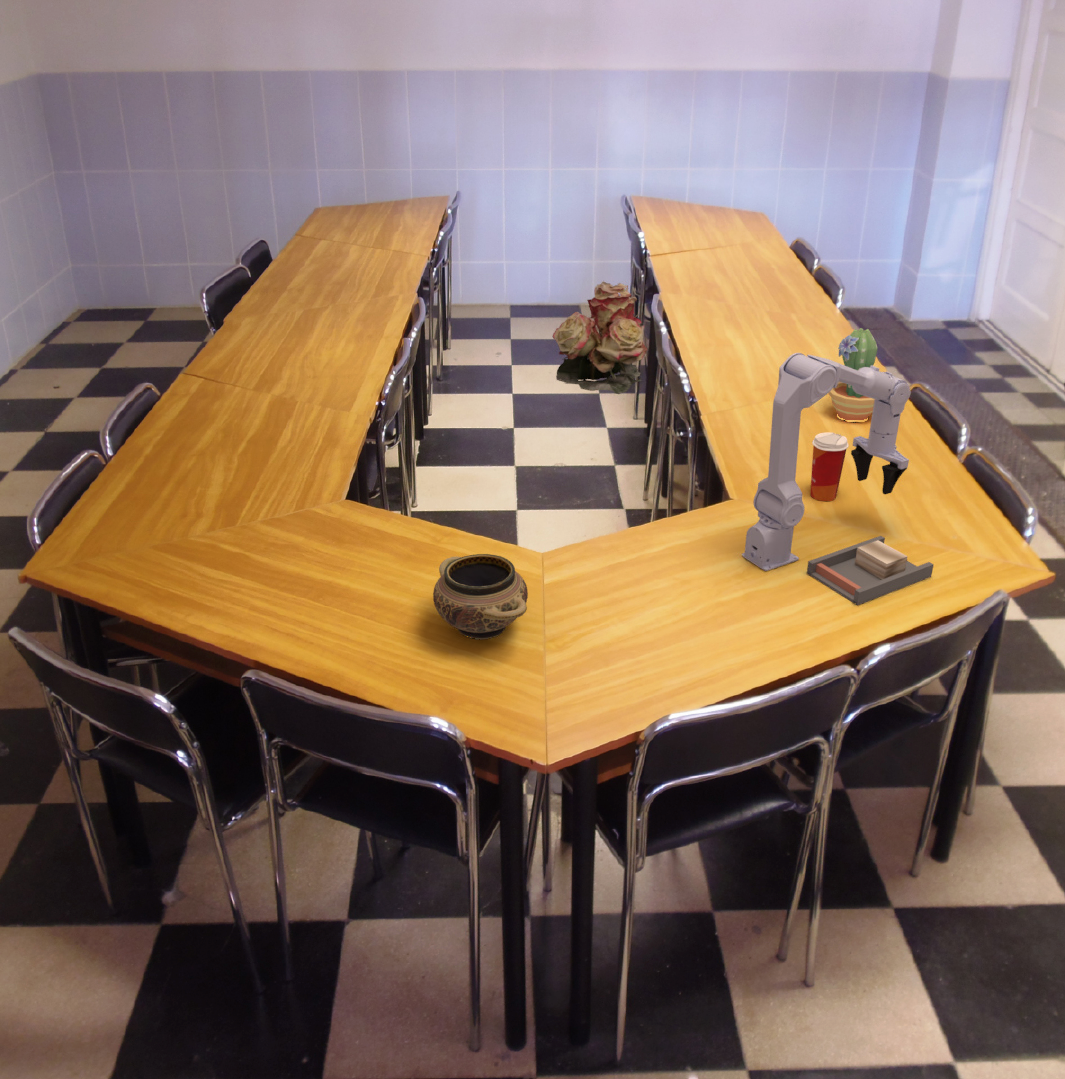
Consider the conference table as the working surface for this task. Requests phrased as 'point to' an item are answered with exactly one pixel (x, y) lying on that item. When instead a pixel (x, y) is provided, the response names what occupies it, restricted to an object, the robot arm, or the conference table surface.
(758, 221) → the conference table surface
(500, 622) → the ceramic bowl
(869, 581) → the bay
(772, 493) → the robot arm
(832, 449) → the coffee cup
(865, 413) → the potted cactus
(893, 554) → the tan layered slab
